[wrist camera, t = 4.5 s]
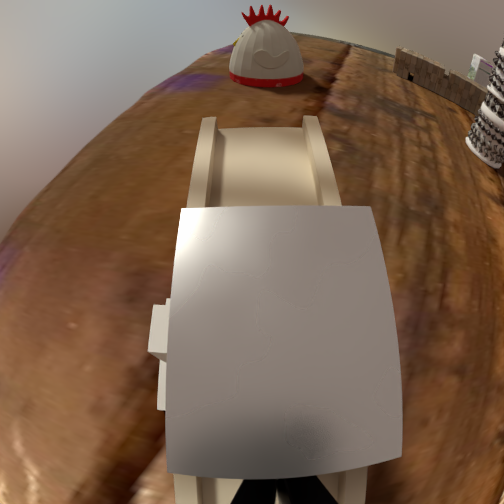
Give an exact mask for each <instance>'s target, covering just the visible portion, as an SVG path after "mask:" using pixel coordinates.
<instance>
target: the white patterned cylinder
mask: <svg viewBox="0 0 504 504" xmlns="http://www.w3.org/2000/svg"><path fill="white" fill-rule="evenodd" d="M495 54H496V56H497V57H498V58H494V59H493V61H494V63H495V65H497V68H491V71H492V74H493V75H491V76H489V80H490V81H491V85H487V89H488V92H487V95H486V98H485V101H484V102H483V103H482V106H481V109H478V115H479V116H475V121H476V123H473V124H472V125H471V130H470V131H469V132H468V137H466V144H467V145H468V147H469V148H470V149H471V151H472V152H473V153H474V154H475V155H476V156H477V157H478V158H480V159H481V160H482V161H483V162H485V163H486V164H488V165H489V166H491V167H493V168H498V169H499V168H500V167H501V163H503V162H504V39H503V43H502V47H500V51H499V52H498V51H495Z"/></svg>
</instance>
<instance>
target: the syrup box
mask: <svg viewBox="0 0 504 504" xmlns="http://www.w3.org/2000/svg"><path fill="white" fill-rule="evenodd" d="M493 67H494V65H492V64H491V63H489V62H488V61H486V60H485V59H484V58H482V57H480V56H478V55H476V54H474V55H473V59H472V63H471V67H470V71H469V73H468V77H469V78H470V79H472V80H473V81H475V82H477V83H478V84H480V85H482V86H484V87H485V88H487V85H488V84H489V81H490V80H489V76H491V74H492V71H491V68H493Z"/></svg>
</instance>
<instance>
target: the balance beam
mask: <svg viewBox="0 0 504 504" xmlns="http://www.w3.org/2000/svg"><path fill="white" fill-rule="evenodd" d="M285 205H318V206H342V205H341V200H340V196H339V192H338V188H337V184H336V180H335V176H334V172H333V169H332V165H331V161H330V158H329V154H328V151H327V147H326V144H325V141H324V137H323V134H322V131H321V128H320V124H319V121H318V118H317V116H304V117H303V125H302V128H286V127H260V128H229V129H218V127H217V120H216V117H208V118H202V123H201V128H200V133H199V138H198V143H197V148H196V154H195V159H194V165H193V170H192V176H191V182H190V189H189V195H188V201H187V208H206V207H233V206H285ZM367 468H368V466H364V467H360V468H355V469H350V470H345V471H340V472H334V473H328V474H321V475H317V477H318V478H319V479H320V481H321V482H322V483H323V484H324V486H325V487H326V488H327V490H328V491H329V492H330V493H331V495H332V496H333V497H334V498H335V500H336V501H337V502H338V503H339V504H365V496H366V484H367ZM173 474H174V473H173ZM242 481H243V479H223V478H208V477H198V476H189V475H181V474H174V488H175V500H176V504H230V503H231V501H232V499H233V498H234V496H235V494H236V492H237V490H238V488H239V487H240V485H241V483H242ZM275 504H279V501H278V496H277V493H276V502H275Z"/></svg>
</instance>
